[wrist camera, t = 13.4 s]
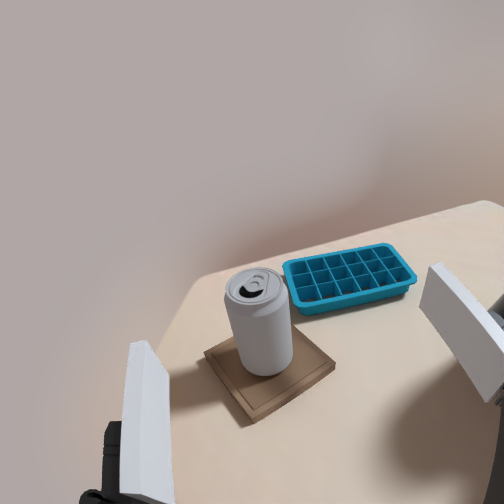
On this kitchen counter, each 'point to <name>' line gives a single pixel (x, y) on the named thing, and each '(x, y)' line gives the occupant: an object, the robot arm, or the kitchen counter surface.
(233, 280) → the beverage can
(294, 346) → the walnut block
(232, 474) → the kitchen counter surface
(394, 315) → the kitchen counter surface
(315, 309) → the ice cube tray
